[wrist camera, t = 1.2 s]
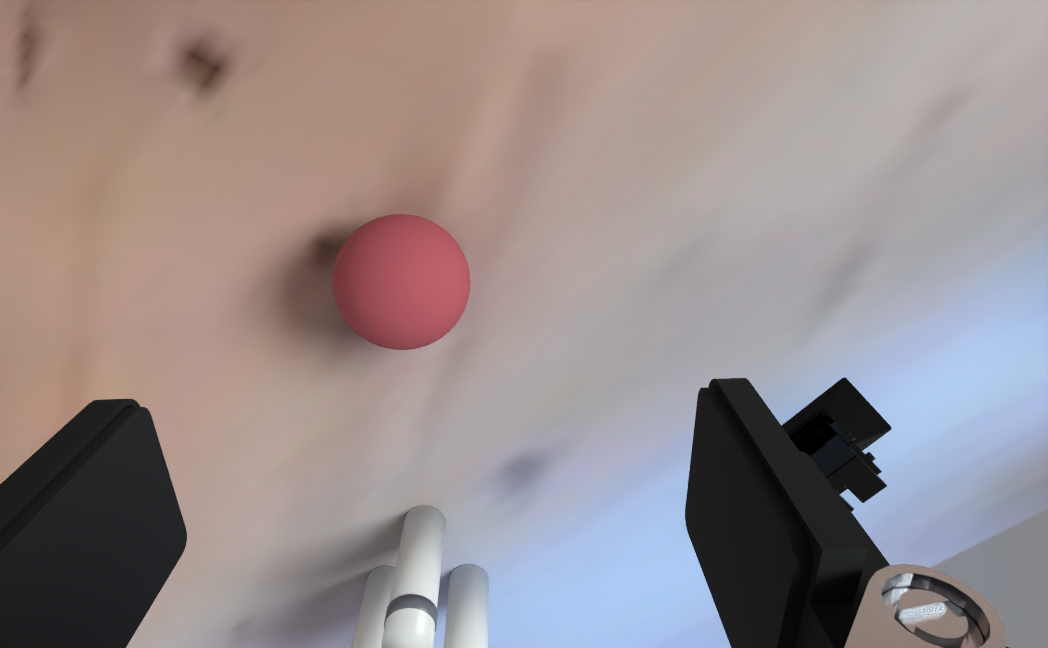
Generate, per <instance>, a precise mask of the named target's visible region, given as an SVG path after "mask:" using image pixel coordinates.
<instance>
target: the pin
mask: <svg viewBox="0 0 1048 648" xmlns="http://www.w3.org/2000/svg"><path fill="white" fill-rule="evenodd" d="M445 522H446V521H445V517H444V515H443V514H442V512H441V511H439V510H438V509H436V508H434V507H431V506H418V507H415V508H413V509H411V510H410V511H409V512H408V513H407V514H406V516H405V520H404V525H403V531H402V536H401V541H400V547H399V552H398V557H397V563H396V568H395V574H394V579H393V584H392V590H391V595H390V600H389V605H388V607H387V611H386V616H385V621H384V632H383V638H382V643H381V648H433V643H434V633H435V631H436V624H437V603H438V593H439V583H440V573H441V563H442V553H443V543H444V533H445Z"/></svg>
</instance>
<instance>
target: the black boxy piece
mask: <svg viewBox="0 0 1048 648" xmlns="http://www.w3.org/2000/svg"><path fill="white" fill-rule="evenodd" d="M782 428H783V429H784V430H785V432H786V433H787V435H788V436H789V437H790V439H791V440H792V442H793V443H794V444H795V446H796V447H797V449H798V450H799V451H800V452H804V453H807V454H808V455H809V456H810V457H811V458H812V460H813V461H814V462H815V464H816V465H817V466H818V468H819V469H820V470H821V472H822V473H823V475H824V476H825V477H826V479H827V480H828V481H829V483H830V484H831V485H832V487H833V488H834V490H835V491H836V492H837V494H838V495H839V496H840V498H841V499H842V500H843V502H844V503H845V505H846V506H847V507H848V509H849V510H850V511H851V512H852V511H853V510H854V508H853V507H852V506H851V505H850V503H849V502H848V501H846V500H845V499H844V498H843V497H842V496H841V495H840V494H841V493H842V492H844V491H845V490H846V489H849V490H850V491H851V492H852V493H853V494H854V495H855V496H856V497H857V498H858V499H859V500H860V501H861V502H862V503H864V502H866V501H867V500H868V499H870V498H871V497H873V496H874V495H875V494H877V493H878V492H880V491H881V490H882V489H884V488H885V487H887V485H886V484H885V482H884V481H883V480H882V479H881V478H880V477H879V476H878V474H879V473H881V472H882V471H881V470H880V469H879V468H878V467H877V466H876V465H875V464H874V463H873V461H874V460H875V457H874V456H873V455H872V454H871V453H870V452H868V453H867V454H865V453H864V452H863V450H864V449H865V448H867V447H868V446H869V445H871V444H872V443H874V442H875V441H876V440H878V439H879V438H880V437H882V436H883V435H884V434H886V433H887V432H888V431H890V430H891V426H890V425H889V424H888V423H887V422H886V421H885V420H884V419H883V418H882V416H881V415H880V414H879V413H878V412H877V411H876V410H875V409H874V408H873V407H872V406H871V405H870V403H869V402H868V401H867V400H866V399H865V398H864V397H863V396H862V395H861V394H860V393H859V392H858V390H857V389H856V388H855V387H854V386H853V385H852V384H851V383H850V382H849V381H848V380H847V379H846V378H842V379H841V380H839V381H838V382H837V383H836V384H834V385H833V386H832V387H830V388H829V389H828V390H827V391H825V392H824V393H823V394H822V395H820V396H819V397H818V398H816V399H815V400H814V401H813V402H811V403H810V404H809V405H808V406H806V407H805V408H804V409H802V410H801V411H800V412H799V413H797V414H796V415H795V416H794V417H792V418H791V419H790V420H788V421H787V422H786V423H785V424H783V425H782Z"/></svg>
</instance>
